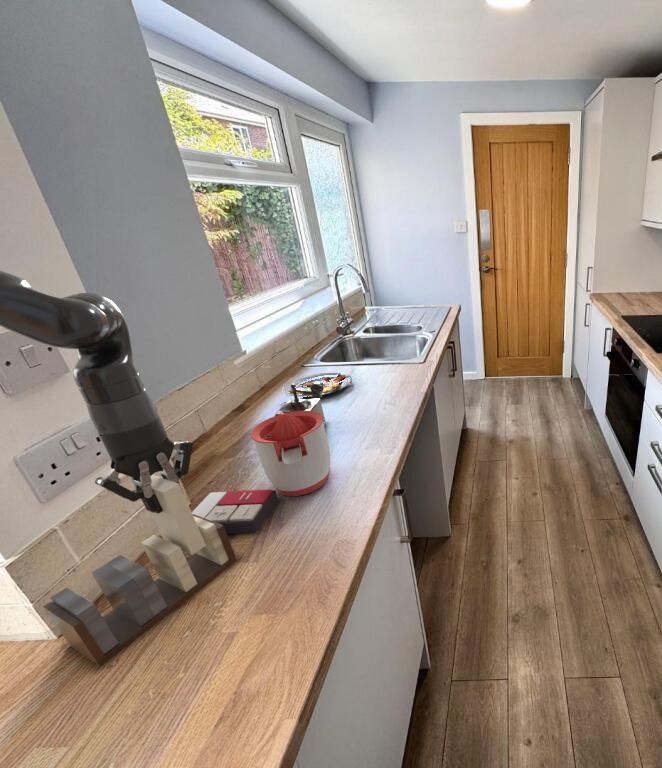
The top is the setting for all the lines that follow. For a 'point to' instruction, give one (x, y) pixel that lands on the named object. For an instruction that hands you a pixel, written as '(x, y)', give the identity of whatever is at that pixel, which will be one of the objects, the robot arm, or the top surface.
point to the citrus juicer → (294, 451)
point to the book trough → (139, 592)
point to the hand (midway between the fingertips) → (167, 505)
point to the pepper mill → (305, 401)
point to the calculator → (238, 509)
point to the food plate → (327, 389)
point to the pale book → (175, 516)
